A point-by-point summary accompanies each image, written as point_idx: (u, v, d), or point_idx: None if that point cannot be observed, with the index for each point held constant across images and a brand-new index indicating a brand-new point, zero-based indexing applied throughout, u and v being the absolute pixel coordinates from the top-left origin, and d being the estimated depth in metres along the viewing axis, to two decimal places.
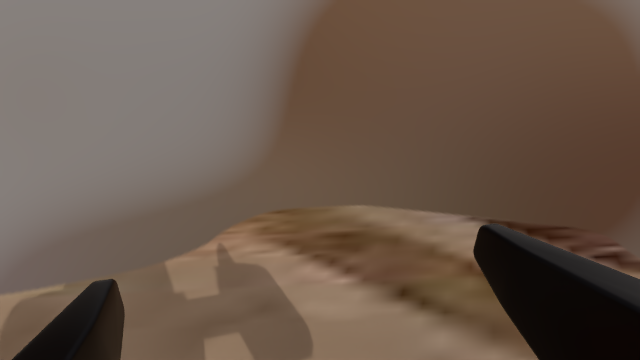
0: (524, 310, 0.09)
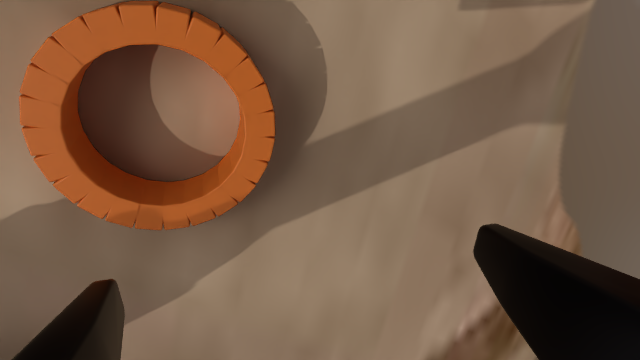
0: (524, 310, 0.09)
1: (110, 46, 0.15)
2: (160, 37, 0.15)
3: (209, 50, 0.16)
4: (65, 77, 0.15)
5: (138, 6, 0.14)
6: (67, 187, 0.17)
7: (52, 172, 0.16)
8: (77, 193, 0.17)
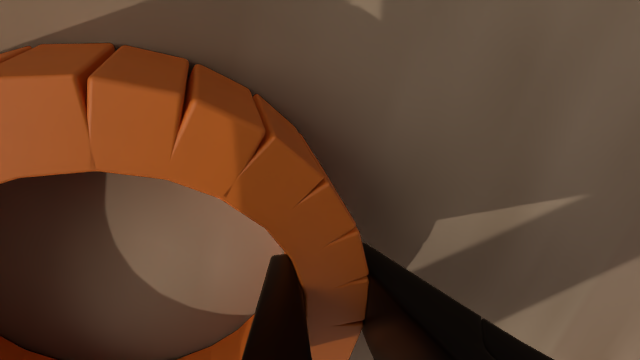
0: (377, 341, 0.08)
1: None
2: (103, 155, 0.05)
3: (234, 175, 0.06)
4: None
5: (30, 79, 0.05)
6: None
7: None
8: None
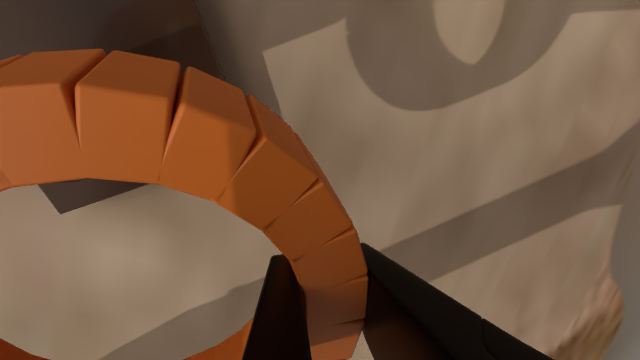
0: (377, 341, 0.08)
1: None
2: (94, 162, 0.05)
3: (226, 178, 0.06)
4: None
5: (17, 88, 0.05)
6: None
7: None
8: None
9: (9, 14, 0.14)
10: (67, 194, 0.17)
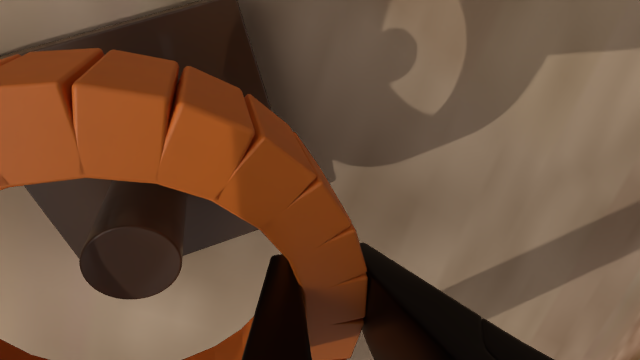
0: (377, 341, 0.08)
1: None
2: (91, 161, 0.05)
3: (225, 177, 0.06)
4: None
5: (14, 88, 0.05)
6: None
7: None
8: None
9: None
10: None
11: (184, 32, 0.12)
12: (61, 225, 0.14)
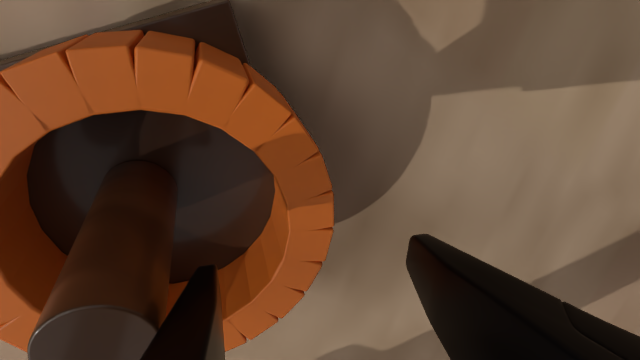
0: (447, 326, 0.09)
1: (58, 121, 0.08)
2: (145, 98, 0.09)
3: (229, 112, 0.09)
4: None
5: (101, 49, 0.08)
6: (15, 334, 0.10)
7: None
8: None
9: None
10: None
11: None
12: None
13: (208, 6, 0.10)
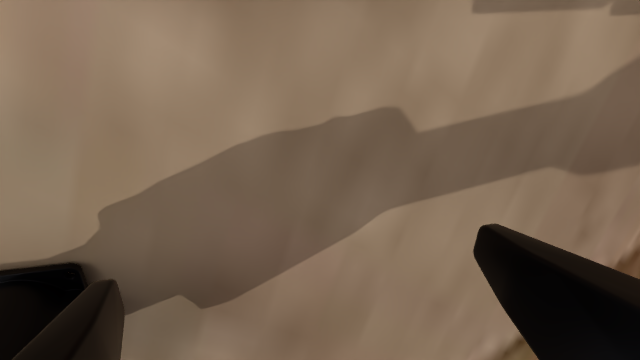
0: (524, 310, 0.09)
1: None
2: None
3: None
4: None
5: None
6: None
7: None
8: None
9: None
10: None
11: None
12: None
13: None
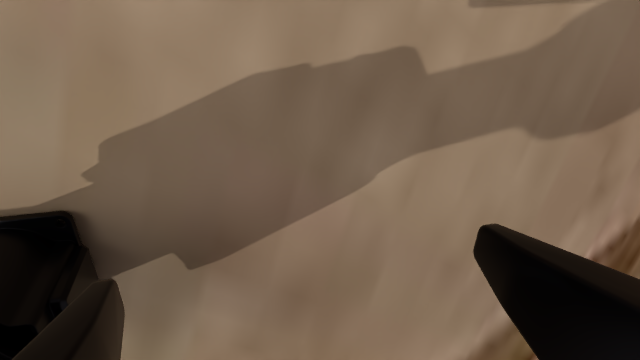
0: (524, 310, 0.09)
1: None
2: None
3: None
4: None
5: None
6: None
7: None
8: None
9: None
10: None
11: None
12: None
13: None
